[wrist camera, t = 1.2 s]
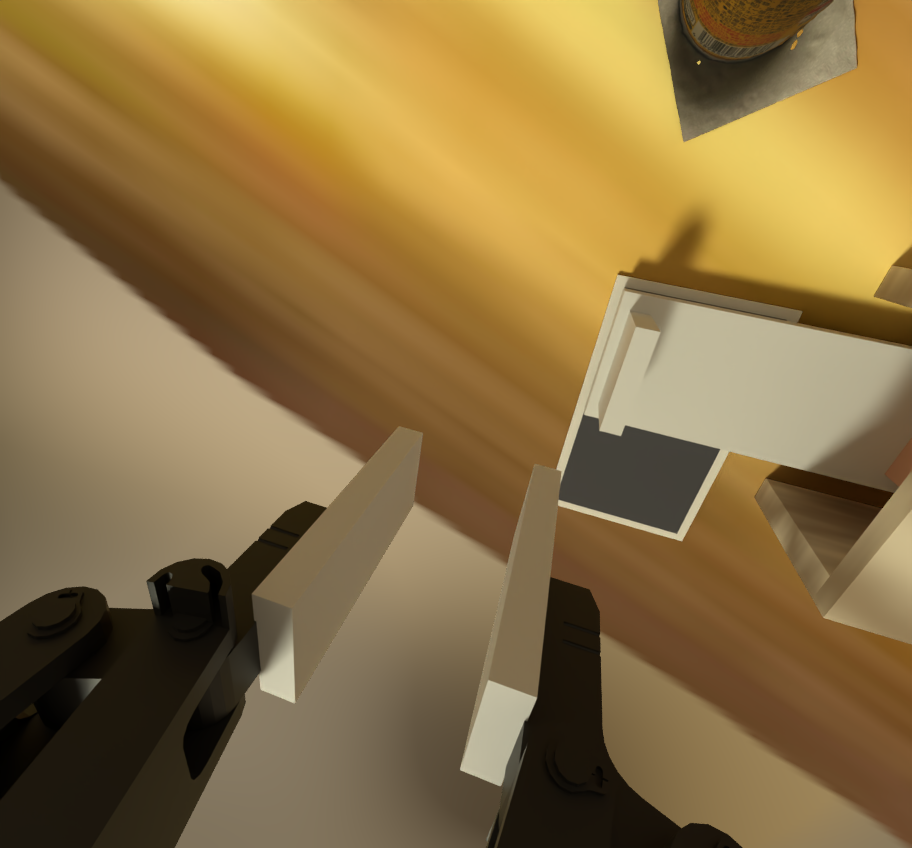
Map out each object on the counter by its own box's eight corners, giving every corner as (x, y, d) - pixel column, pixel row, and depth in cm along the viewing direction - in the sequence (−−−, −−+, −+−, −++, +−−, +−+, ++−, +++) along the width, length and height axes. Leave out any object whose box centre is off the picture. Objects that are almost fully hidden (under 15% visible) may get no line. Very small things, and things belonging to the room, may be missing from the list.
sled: (623, 287, 26) (633, 312, 20) (1122, 388, 22) (1331, 459, 16) (584, 407, 30) (583, 460, 24) (1004, 512, 26) (1136, 609, 20)
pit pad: (617, 274, 26) (617, 275, 26) (801, 310, 25) (804, 311, 25) (546, 500, 35) (545, 502, 34) (681, 539, 33) (682, 542, 33)
